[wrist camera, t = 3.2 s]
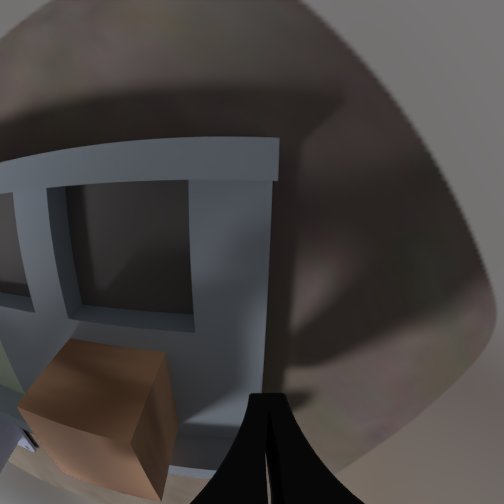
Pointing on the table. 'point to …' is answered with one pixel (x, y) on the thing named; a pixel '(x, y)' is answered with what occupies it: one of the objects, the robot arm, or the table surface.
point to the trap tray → (143, 271)
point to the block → (106, 416)
